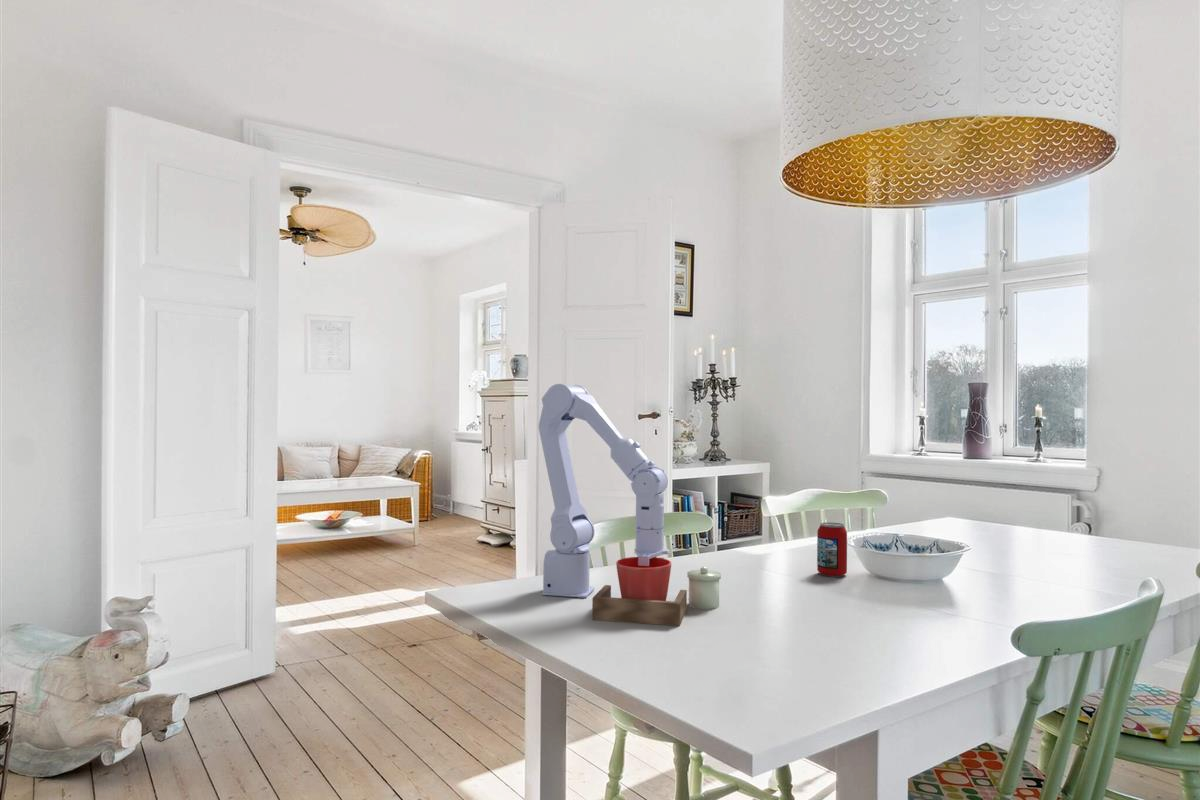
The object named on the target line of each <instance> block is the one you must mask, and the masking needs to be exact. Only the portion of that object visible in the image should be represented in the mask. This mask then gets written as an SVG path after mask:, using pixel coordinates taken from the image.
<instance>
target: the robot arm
mask: <svg viewBox="0 0 1200 800" xmlns="http://www.w3.org/2000/svg"><path fill="white" fill-rule="evenodd" d="M541 402H542V403H541V404H542V410H541V413H540V417H539V423H538V431H539V435H540V441H541V447H542V450H543V455H544V461H545V465H546V466H545V467H546V470H547V475H548V480H549V485H550V490H551V496H552V499H553V500H552V501H553V505H554V506H553V507H554V509H553V512H552V514H551V517H550V522H551V530H550V533H549V535H550V537H549V539H550V542H551V545H552V546H553V547H554V549H548V550H546V552H545V554H544V558H543V565H542V566H543V570H542V571H543V572H542V573H543V579H542V580H543V581H542V583H543V588H542V590H543V591H542V593H541V595H543V596H555V597H568V598H569V597H571V598H583V599H584V598H587V597H588V596H590V594H591V593H592V592H593V591H594V590H595V586H590V543H591V542H593V539H594V537H595V526H594V524H593V523H592V521H591V520H590V518H589V516H588V512H587V509H586V508H585V507H584V506H583V505H582V503H581V502H580V499H579V498H580V497H579V492H578V487H577V483H576V479H575V478H576V477H575V474H574V469H573V464H572V460H571V454H570V449H569V445H568V441H567V435H566V430H567V428H569V426H570V425H571V423H572V422H573V420H575V419H579V420H582V421H585V422H586V423H587V424H588V425H589V427H591V428H592V429H593V430H594V432H595V433H596V434H597V435H599V437H600V438H601V439H602V441H604V442H605V444H606V445H607V446H608V447H609V448H610V459H612V461H613V462H614V463H615V464H616V465H617V466H618V468H619V469H620V470H621V472H622V473H623V474H624V475H625V476H626V477H627V478H628V480H629V481H631V483H630V486H631V490H632V492H633V493H634V494H635V545H634V546H635V548H634V554H635V555H636V557H638V566H649V559H651V558H654V557H657V558H659V557H660V556H663V555H669V554H670V549H667V548H665V541H664V539H665V535H664V534H665V533H664V532H665V530H664V528H665V504H664V503H665V502H664V499H665V497H664V496H665V493H664V492H665V491H666V490H667V488H668V482H669V481H668V477H667V474H666V473H665V471H664V469H663V468H661V467H659V466H655V465H656V462H654V460H650V459H649V458H648V457H647V455H646V454H645V453H644V452H643V451H642V450H641V446H642V445H641V444H640V443H639V441H634V440H633V439H632V438H624V437H623V436H622V435H621V433H620V432H619V431H618V429H617V428H616V427H615V425H614V424H613V423H612V421H611V419H609V417H608V416H607V414H606V413H605V412H604V411H603V409H602V408H601V407H600V404H598V402H597V400H596V399H595V397H594V396H592V394H590V393H589V392H588V390H587V389H586V388H585V387H584V386H582V385H578V384H575V385H574V384H573V385H571V384H570V385H569V384H564V383H563V384H562V383H555V384H553V385H552V386H550V387H549V388H548V389H547V391H546V392H545V393H544V395H543V396H542V398H541ZM662 558H663V559H665V558H664V557H662Z"/></svg>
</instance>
